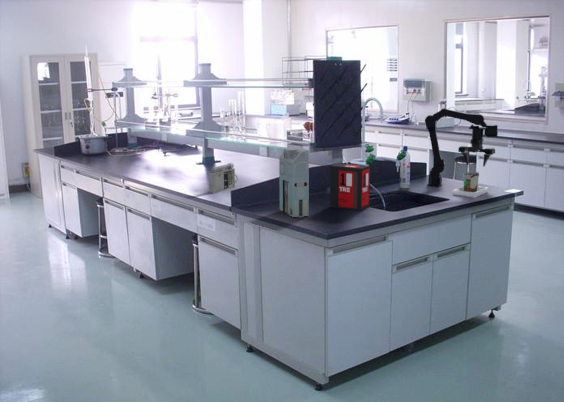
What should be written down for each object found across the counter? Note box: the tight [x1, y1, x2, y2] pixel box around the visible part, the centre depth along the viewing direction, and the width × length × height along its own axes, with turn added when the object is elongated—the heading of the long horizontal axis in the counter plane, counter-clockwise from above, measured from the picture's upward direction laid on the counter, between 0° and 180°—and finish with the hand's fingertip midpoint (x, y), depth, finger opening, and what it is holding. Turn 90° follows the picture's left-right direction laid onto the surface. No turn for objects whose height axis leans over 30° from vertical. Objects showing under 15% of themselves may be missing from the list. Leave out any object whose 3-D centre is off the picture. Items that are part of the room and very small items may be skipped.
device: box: [278, 145, 310, 218], centre depth 288 cm, size 16×8×30 cm, turn 21°
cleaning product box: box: [329, 162, 371, 212], centre depth 302 cm, size 16×9×20 cm, turn 58°
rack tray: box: [452, 185, 489, 199], centre depth 332 cm, size 12×18×2 cm, turn 142°
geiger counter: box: [206, 162, 239, 194], centre depth 348 cm, size 14×6×25 cm
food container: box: [462, 171, 480, 192], centre depth 332 cm, size 12×6×10 cm, turn 142°
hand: (475, 165), depth 347 cm, fingers open, 9 cm apart
